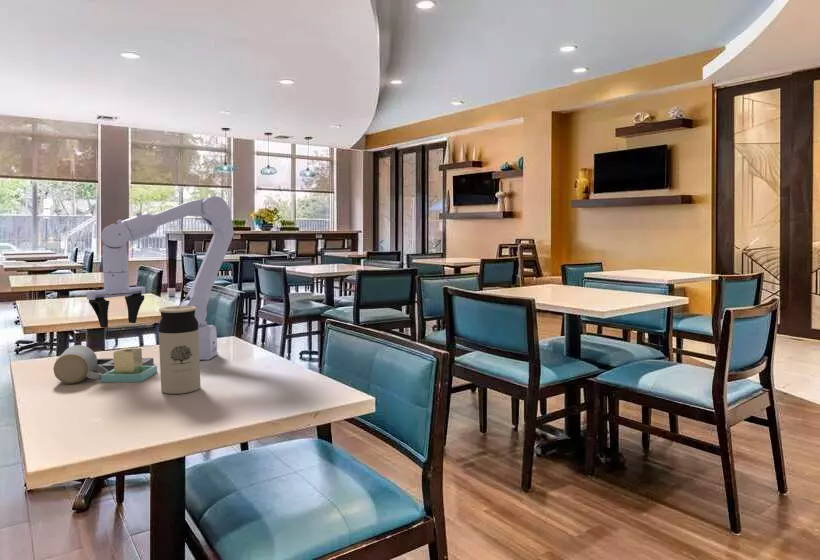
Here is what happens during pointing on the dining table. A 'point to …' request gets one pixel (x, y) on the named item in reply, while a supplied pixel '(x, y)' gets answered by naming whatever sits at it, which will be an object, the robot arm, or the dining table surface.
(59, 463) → the dining table surface
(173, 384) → the travel mug
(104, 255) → the robot arm
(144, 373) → the tray
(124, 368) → the block
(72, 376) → the ceramic mug
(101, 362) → the grey flat frame
